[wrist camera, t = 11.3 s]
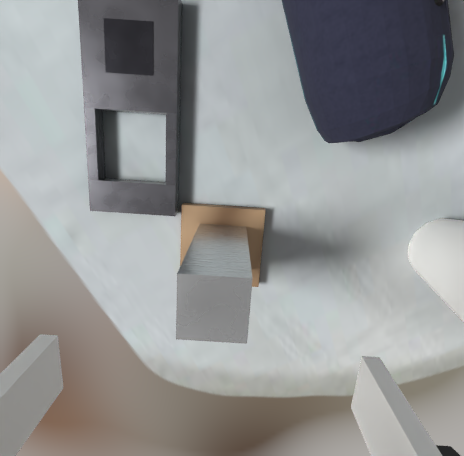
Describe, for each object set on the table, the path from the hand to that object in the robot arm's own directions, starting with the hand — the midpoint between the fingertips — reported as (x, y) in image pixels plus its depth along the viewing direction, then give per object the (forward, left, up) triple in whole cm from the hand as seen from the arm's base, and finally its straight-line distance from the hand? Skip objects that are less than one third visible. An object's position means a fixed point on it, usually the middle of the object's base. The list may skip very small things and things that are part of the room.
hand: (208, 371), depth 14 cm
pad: (0, 0, -19) cm, 19 cm away
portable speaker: (-7, -23, -19) cm, 31 cm away
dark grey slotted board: (+9, -12, -19) cm, 24 cm away
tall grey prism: (0, 0, -18) cm, 18 cm away
